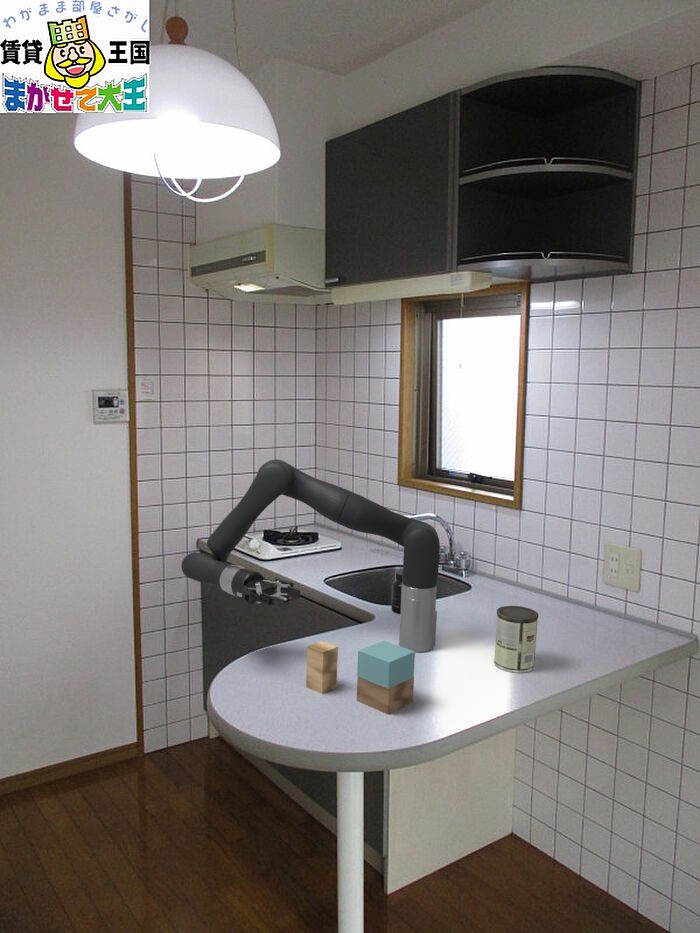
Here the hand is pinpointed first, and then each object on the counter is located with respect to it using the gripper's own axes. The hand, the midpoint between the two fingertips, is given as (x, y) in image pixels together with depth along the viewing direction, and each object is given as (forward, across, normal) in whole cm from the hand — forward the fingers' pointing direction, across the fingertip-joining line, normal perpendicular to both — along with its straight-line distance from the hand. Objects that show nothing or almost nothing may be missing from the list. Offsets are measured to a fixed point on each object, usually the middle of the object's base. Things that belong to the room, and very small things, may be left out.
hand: (286, 598), depth 187 cm
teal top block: (+27, +5, +12) cm, 30 cm away
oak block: (+12, 0, +18) cm, 22 cm away
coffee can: (+37, +45, +18) cm, 61 cm away
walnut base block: (+27, +5, +18) cm, 33 cm away
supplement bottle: (-8, +57, +18) cm, 61 cm away
